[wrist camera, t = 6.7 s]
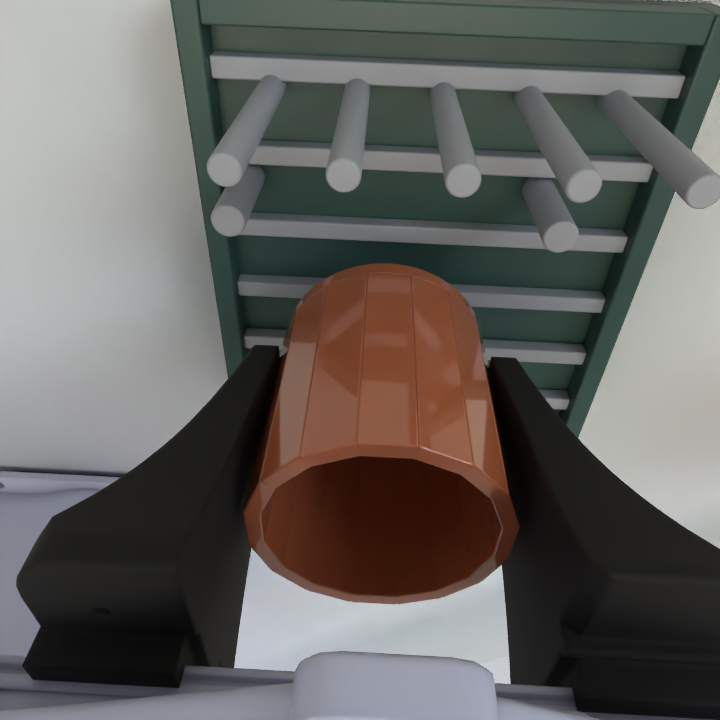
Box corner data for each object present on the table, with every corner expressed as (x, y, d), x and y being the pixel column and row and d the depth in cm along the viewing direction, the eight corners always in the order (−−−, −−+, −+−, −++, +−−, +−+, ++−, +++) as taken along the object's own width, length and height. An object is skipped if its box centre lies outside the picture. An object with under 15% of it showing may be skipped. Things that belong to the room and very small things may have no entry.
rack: (243, 394, 22) (200, 543, 17) (188, -19, 13) (72, 38, 9) (566, 410, 21) (617, 565, 17) (712, 2, 13) (899, 73, 8)
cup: (291, 410, 18) (256, 597, 13) (282, 257, 14) (229, 436, 10) (465, 419, 18) (491, 610, 13) (496, 267, 14) (547, 453, 10)
